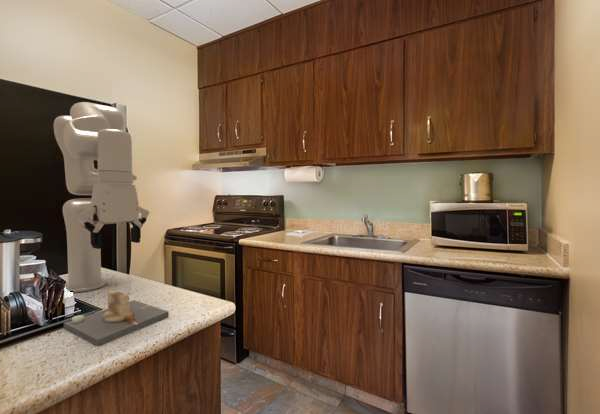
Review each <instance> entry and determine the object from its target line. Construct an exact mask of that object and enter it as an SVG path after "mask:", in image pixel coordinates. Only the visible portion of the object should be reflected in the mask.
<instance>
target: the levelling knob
mask: <svg viewBox="0 0 600 414" xmlns="http://www.w3.org/2000/svg"><path fill="white" fill-rule="evenodd" d="M129 302H130V295H129V294H126V293H124V292H120V291H117V290H110V291H107V309H108V311H107V312H106V313H104V314H103V321H104V322H110V323H111V322H120V321H124V320H126V321H128V322H131V323H132V322H134V321H135V318H134V317H132V316H133V315H134V309H132V308H129Z"/></svg>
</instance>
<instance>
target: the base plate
mask: <svg viewBox="0 0 600 414" xmlns="http://www.w3.org/2000/svg"><path fill="white" fill-rule="evenodd" d="M129 308H132V309H134V315H133V316H132V317H134V318H135V321H134V322H132V323H131V322H128V321H126V320H124V321H120V322H111V323H110V322H104V321H103V314H104V313H106V312H107V311H108V308H105V309H102V310H99V311H96V312H92V313H90V314H87V315H84V314H80V315H79V314H78V315H74V316H73V317H72V318H71V320H68V321H66V322H63V330H65V331H67V332H69V333H71V334H73V335H75V336H77V337H79V338H81V339H83V340H85V341H87V342H89V343H91V344H93V345H95V346H97V347H100V346H102V345H105V344H106V343H110V342H112V341H114V340H116V339H118V338H121V337H123V336H126V335H128V334H131V333H133V332H135V331H136V332H137V330H140V329H143V328H145V327H147V326H150V325H151V324H155V323H157V322H159V321H162V320H164V319H166V318H168V317H169V311H168V310H165V309H162V308H159V307H157V306H153V305H151V304H147V303H144V302H141V301H138V300H134V299H133V300H129Z"/></svg>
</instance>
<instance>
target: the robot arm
mask: <svg viewBox="0 0 600 414" xmlns="http://www.w3.org/2000/svg"><path fill="white" fill-rule="evenodd" d="M124 125H125V118H124V114H123V113H122V112H121V110H119V108H117V107H114V106H111V105H110V106H109V105H103V104H98V103H95V102H94V103H93V102H89V101H88V102H87V101H81V102H77V103H74V104H73V105H71V107H70V110H69V115H60V116H59V115H58V116H57V117H56V118H55V119H54V121H53V132H54V137H55V140H56V143H57V145H58V147H59V150H60V151H61V153H62V155H63V162H64V174H65V185H66V188H67V191H68V193H70V194H72V195H75V196H91V197H87V198H86V197H85V198H83V197H81V198H78V197H77V198H73V199H72V198H71V199H69V200H67V201H66V202H64V204H63V205H62V216H63V219H64V225H65V231H66V245H67V248H66V249H67V275H68V276H67V277H68V278H67V279H68V280H67V281H68V282H67V283H65V284H66V289H67V290H69V291H73V292H72V293H80V292H89V291H93V290H97V289H99V288H102V287H105V286H106V285H107V279H105V278H102V256H101V255H102V253H101V251H102V248H103V238H102V237H103V236H102V235H103V234H102V232H100V231H101V229H102V228H103V226H104V225H110V224H111V225H112V224H120V223H121V224H123V223H129V224H130V225H131V226H132V227H130V242H131V243H135V244H137V243H138V244H139V243H141V237H142V236H141V232H142V231H141V230H142V228H143V225H144V224H145V223H146V221H147V219H148V217H149V215H150V211H149V210H148V209H145V208H143V207H141V206H139V199H138V194H137V193H138V192H137V188H136V185H135V184H133V183H134V181H137V179H138V178H137V175H134V173H133V152H132V151H133V147H132V146H133V145H132V143H133V142H132V141H133V140H132V136H131V134H130V133H129V132H127V131H125V130H124ZM94 161H97V168H95V163H94Z"/></svg>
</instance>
